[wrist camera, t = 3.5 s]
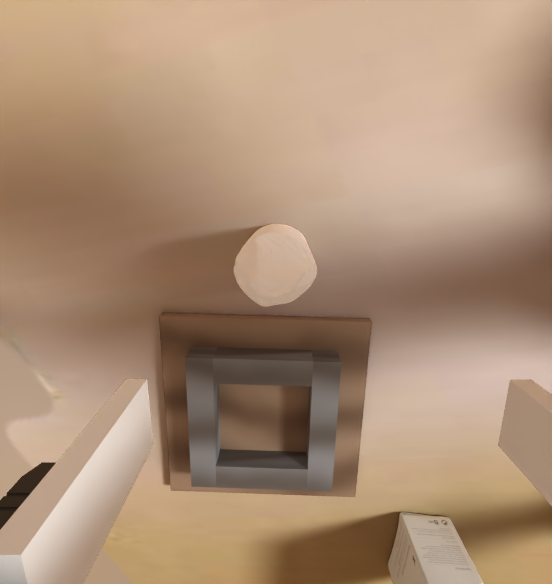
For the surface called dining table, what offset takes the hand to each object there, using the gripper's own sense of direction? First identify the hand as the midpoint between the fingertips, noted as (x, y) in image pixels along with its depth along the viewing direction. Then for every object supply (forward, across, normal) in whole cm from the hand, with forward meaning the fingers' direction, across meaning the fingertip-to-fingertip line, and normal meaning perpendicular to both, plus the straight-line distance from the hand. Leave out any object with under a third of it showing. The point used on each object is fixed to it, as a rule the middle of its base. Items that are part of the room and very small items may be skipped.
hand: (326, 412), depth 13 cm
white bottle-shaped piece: (+22, -2, +2) cm, 22 cm away
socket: (+22, -3, -14) cm, 26 cm away
